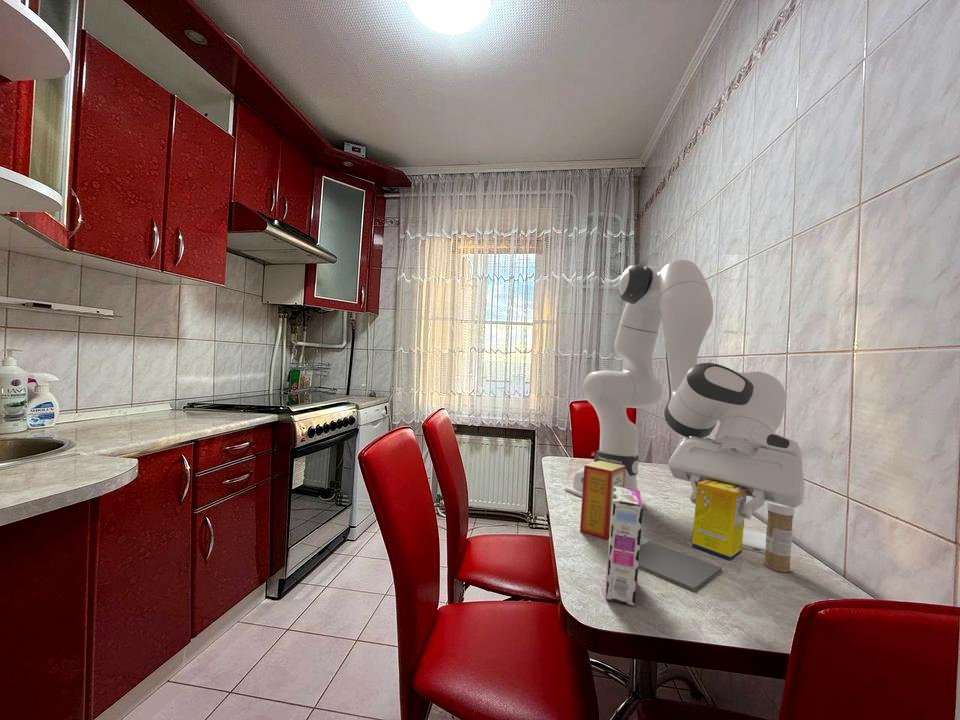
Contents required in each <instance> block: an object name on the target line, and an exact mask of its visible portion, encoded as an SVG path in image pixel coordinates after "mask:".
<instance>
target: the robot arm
mask: <svg viewBox="0 0 960 720" xmlns="http://www.w3.org/2000/svg"><path fill="white" fill-rule="evenodd" d="M707 282H708V281H707V280H706V278H705V276H704V274H703V272H702V271H701V269H700V268H699V267H698V265H697V264H696V263H694V262H693V261H690V260H687V259H676V260H673V261H670V262H669V263H667V264H665V266H664V267H662V266H656V265H655V266H653V265H645V264H632V265H631V264H630V265H629V266H628V267H626V268H624V271H623V272H622V274H621V275H620V279H619V282H618V294H619V297H620V299H621V300H622V301H623V302H626V304H625V306H624V310H623V312H622V314H621V317H620V321H619V325H618V327H617V328H618V329H617V333H616V336H615V341H614V344H613V348H614V352H615V354H616V355H617V356H618V357H619V358H620V359H621V361H622V370H621V371H619V370H607V369H605V370H597V371H593V372H589V373H588V374H587V375H586V377H584V378H585V379H584V380H583V382H582V383H583V384H582V394H583V395H584V398H585V400H586V402H588V403H589V404H590V405H592V407H593V409H594V410H595V412H596V415H597V418H598V421H599V429H600V430H599V449H598V450H596V451H591V456H592V457H593V456H594V458H593V460H592V462H597V461H605V462H610V463H615V464H620V465H625V466H626V467H625V483H624V488H630V489H635V490H639V489H638V473H639V464H640V463H639V458H640V457H639V453H638V451H639V450H638V449H639V437H640V436H639V435H640V431H639V428H638V427H637V425H636V424H635V423H634V422H632V421H631V420H630V419H629V417H628V415H627V409H628V408H633V409H642V408H649V407H653V406H656V405H657V404H658V403H659V401H660V399H661V397H662V391H663V390H662V385H661V382H660V380H658V378H657V377H656V374H655V373H654V368H653V354H654V351H655V347H656V341H657V338H658V335H659V334H658V333H659V330H660V327H661V323H662V327H663V328H662V329H663V336H664V346H665V358H666V359H665V361H666V370H667V371H666V372H667V382H668V391H669V392H668V394H669V395H668V396H669V397H668V400H667V403H666V405H665V408H664V412H663V413H664V415H663V416H664V419H665V422H666V423H667V425H668V426H669V427H670V428H671V429H672V430H673V431H674V432H676V434H679V435H680V436H683V437H684V438H681V439H680V440H679V442H678V444H677V447H676V449H675V450H674V451H673V453H672V455H671V456H670V458H669V460H668V462H667V463H668V464H667V465H668V468H669V471H670V473H671V474H672V476H673V477H674V479H678V480H683V481H686V482H690V485H691V487H692V488H691V489H692V491H691V494H690V501H691V503H692V504H695V505H696V494H697V483H698V482H702V481H706V480H709V479H712V480H717V481H721V482H725V483H729V484H733V485H737V486H741V487H746V488H747V495H746V497H751V498H752V499H750V500H749V501H747V502H746V503H743V502H741V503H740V507H739V510H738V513H739V516H740V517H744V519H747V520H751V518H752V516H753V512H756V511H757V510H758V509H760V508H762V507H763V506H764V505H765V503H766V502H768V501H770V502H774V503H778V504H782V505H786V506H789V507H794V508H798V507H799V506H801V505H802V504H803V503H804V499H805V493H806V492H805V491H806V490H805V482H806V481H805V476H804V471H803V456H802V452H801V448H800V445H799V443H798V442H796V441H795V440H793V439H790V438H787V437H785V436H782V435H780V434H777V433H776V431H777V430H778V429H779V427H780V426H781V425H782V420H783V418H784V414H785V408H786V401H787V395H786V390H785V388H784V386H783V384H782V383H781V381H780V380H779V379H778V378H777V377H775V376H774V375H771V374H769V373H766V372H764V371H750V372H741V371H740V372H739V371H735V370H733V369H731V368H729V367H726V366H724V365H722V364H718V363H714V362H702V363H698V357H699V352H700V350H701V346H702V344H703V342H704V339H705V337H706V334H707V332H708V330H709V327H710V326H711V324H712V321H713V316H714V301H713V296H712V293H711V290H710V288H709V285H708V283H707ZM718 422H720V424H719V426H718V430H716V431H717V432H716V434H715V436H714V439H712V438H707V437H708V436H710V435H711V434H712V433H713V431H714V429H715V428H716V425H717V424H718ZM592 462H590V463H592ZM583 480H584V466H583V467H581V468H579V469H578V470H577V471H576V472H575V475H574V477H573V482H572V483H569V484H567V485H566V486H565V488H564V489H565V491H566V492H568V493H571V494H573V495H576V496H578V497H580V498H582V494H583Z"/></svg>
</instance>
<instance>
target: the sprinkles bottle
mask: <svg viewBox="0 0 960 720" xmlns="http://www.w3.org/2000/svg"><path fill="white" fill-rule="evenodd" d="M766 509H767V519H766V520H767V521H766V532H765V534H766V545H765V548H766V551H765V555H764V561H763V564H764V566H765V567H767V568H769V569H771V570H773V571H777V572H781V573H789V572H791V567H790V566H791V565H790V564H791V555H792V543H793V521H794V520H793V519H794V515H795V507H789V506H786V505H782V504H778V503H774V502H770V501H767V505H766Z"/></svg>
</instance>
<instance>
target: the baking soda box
mask: <svg viewBox="0 0 960 720" xmlns="http://www.w3.org/2000/svg"><path fill="white" fill-rule="evenodd" d="M583 467H584V480H583V494H582V497H581V511H580V514H581V515H580V527H579V532H580V533H581V534H582V533H583V534H585V535H589V536H592V537H595V538H599V539H601V540H604V541H609V534H610V522H611V509H612V497H613V488H614V486H616V487H623V488H624V483H625V467H626V466H625V465H620V464H615V463H610V462H605V461H597V462H593V461H592V463H591V462H589V463H587V464H585V465H584V466H583Z"/></svg>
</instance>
